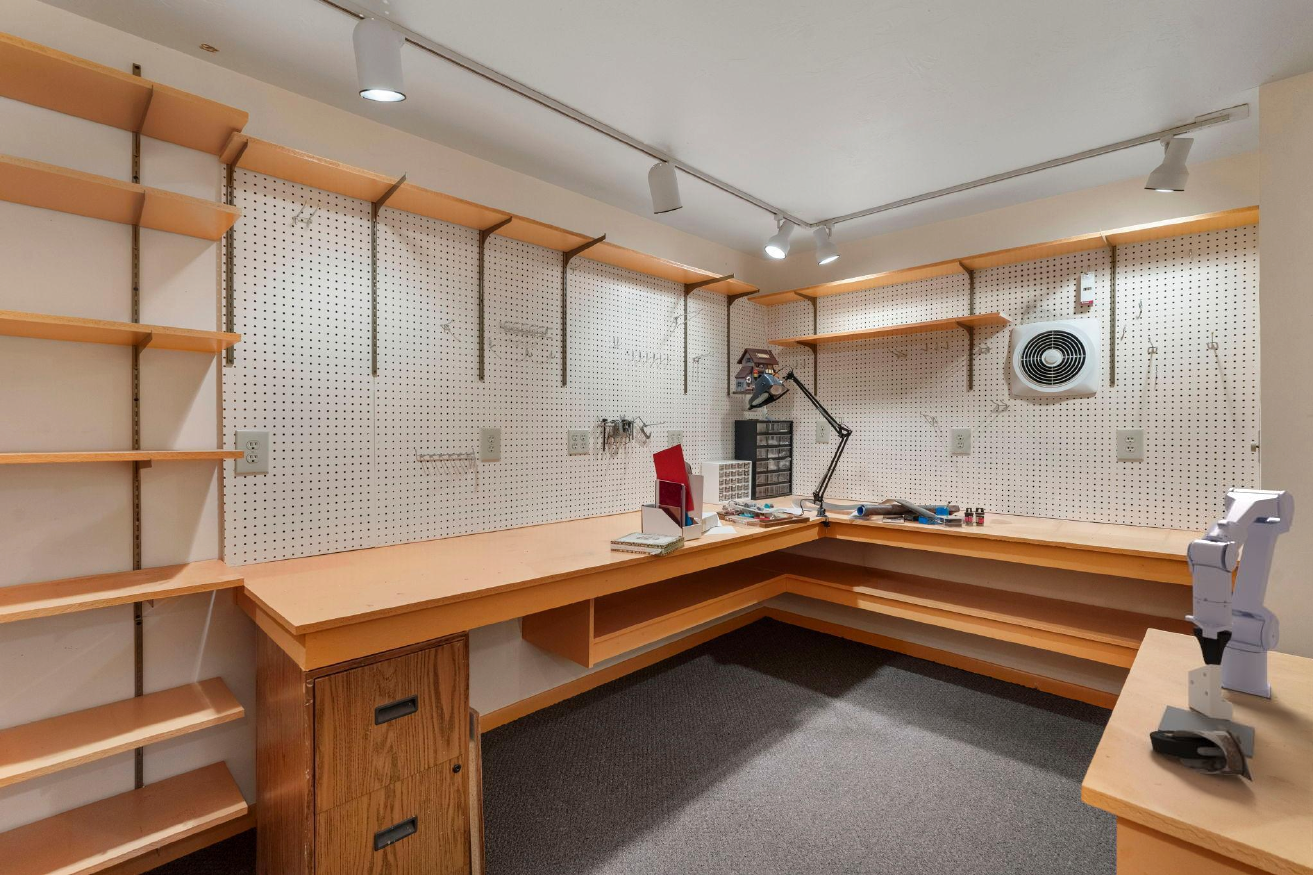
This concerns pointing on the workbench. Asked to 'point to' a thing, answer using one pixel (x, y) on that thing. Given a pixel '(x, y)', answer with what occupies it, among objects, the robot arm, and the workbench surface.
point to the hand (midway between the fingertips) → (1212, 665)
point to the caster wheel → (1204, 750)
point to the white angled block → (1208, 693)
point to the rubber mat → (1205, 725)
